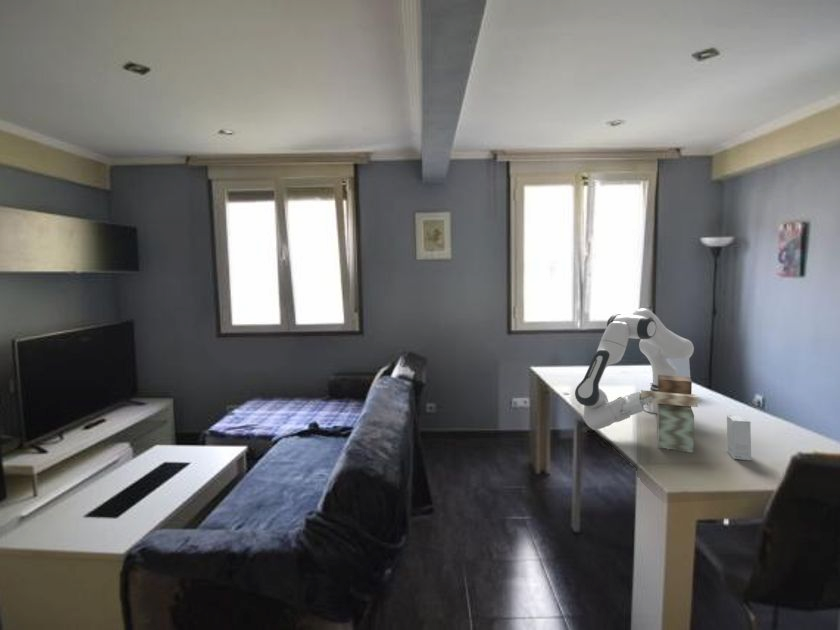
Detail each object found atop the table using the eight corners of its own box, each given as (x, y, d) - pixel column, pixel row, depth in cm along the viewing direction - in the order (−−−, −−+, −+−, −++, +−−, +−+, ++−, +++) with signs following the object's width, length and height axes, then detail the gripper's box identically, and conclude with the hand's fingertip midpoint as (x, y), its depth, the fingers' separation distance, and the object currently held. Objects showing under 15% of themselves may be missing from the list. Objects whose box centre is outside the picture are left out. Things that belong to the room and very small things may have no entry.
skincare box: (751, 461, 161) (752, 422, 160) (732, 459, 164) (733, 420, 163) (743, 452, 169) (745, 415, 168) (725, 451, 171) (726, 414, 170)
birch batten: (641, 401, 181) (641, 392, 181) (641, 399, 184) (641, 390, 184) (697, 407, 172) (697, 397, 171) (696, 404, 175) (696, 394, 175)
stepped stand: (658, 448, 176) (659, 385, 174) (656, 432, 194) (657, 375, 192) (693, 452, 171) (694, 387, 169) (688, 436, 188) (689, 377, 186)
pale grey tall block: (694, 396, 249) (695, 348, 247) (667, 397, 249) (668, 349, 247) (679, 390, 264) (680, 344, 262) (654, 390, 264) (654, 345, 262)
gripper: (615, 408, 178) (648, 395, 172) (617, 396, 196) (648, 383, 190) (624, 423, 177) (657, 409, 171) (625, 409, 195) (656, 396, 189)
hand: (652, 395), depth 180 cm, fingers closed on birch batten, 4 cm apart
